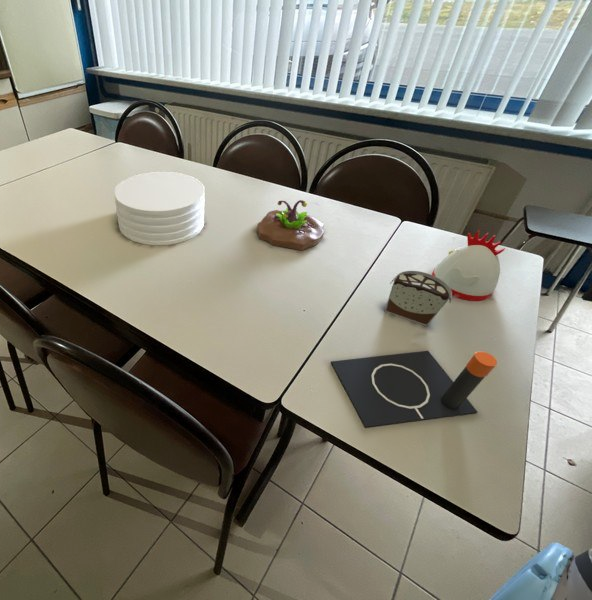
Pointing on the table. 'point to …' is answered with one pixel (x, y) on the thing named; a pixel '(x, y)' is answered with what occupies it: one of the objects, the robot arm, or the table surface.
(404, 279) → the food container
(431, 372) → the desk mat
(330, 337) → the table surface
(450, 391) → the marker
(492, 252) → the kitchen timer
